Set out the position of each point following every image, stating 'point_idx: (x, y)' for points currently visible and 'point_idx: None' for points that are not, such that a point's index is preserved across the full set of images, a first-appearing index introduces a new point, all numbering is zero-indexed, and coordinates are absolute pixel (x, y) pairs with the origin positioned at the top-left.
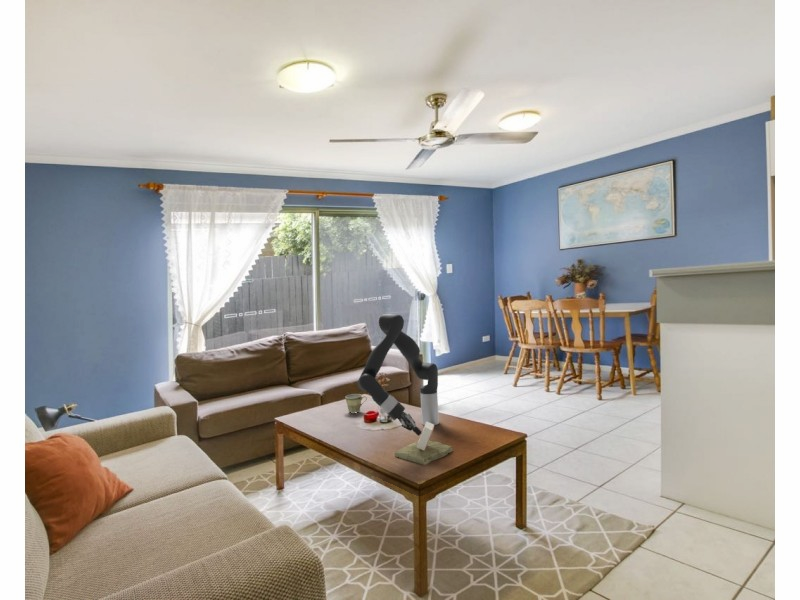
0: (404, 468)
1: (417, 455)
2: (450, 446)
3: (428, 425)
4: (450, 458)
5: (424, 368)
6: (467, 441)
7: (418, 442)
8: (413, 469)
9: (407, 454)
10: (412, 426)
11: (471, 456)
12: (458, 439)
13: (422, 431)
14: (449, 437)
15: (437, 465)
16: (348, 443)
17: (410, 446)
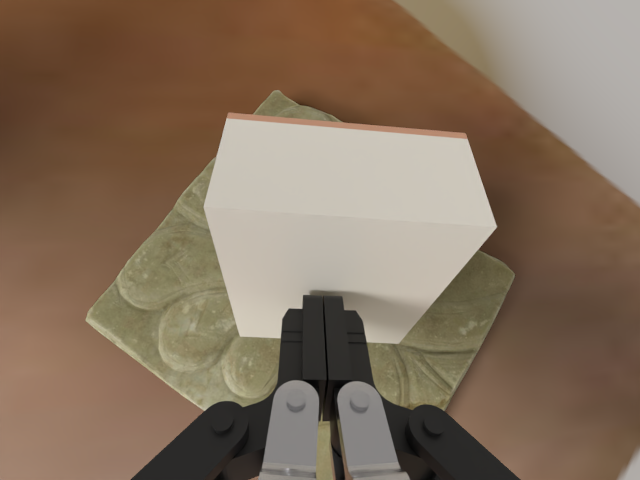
0: (569, 403)
1: (480, 324)
2: (281, 95)
3: (359, 177)
4: (398, 119)
5: None
6: (110, 4)
7: (413, 324)
8: (576, 339)
9: (444, 409)
10: (472, 437)
11: (365, 6)
12: (60, 55)
13: (374, 277)
14: (5, 113)
15: (504, 195)
16: None
17: None
